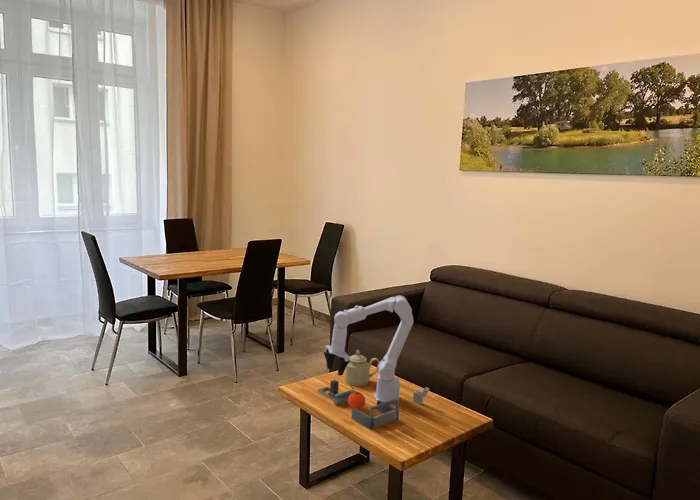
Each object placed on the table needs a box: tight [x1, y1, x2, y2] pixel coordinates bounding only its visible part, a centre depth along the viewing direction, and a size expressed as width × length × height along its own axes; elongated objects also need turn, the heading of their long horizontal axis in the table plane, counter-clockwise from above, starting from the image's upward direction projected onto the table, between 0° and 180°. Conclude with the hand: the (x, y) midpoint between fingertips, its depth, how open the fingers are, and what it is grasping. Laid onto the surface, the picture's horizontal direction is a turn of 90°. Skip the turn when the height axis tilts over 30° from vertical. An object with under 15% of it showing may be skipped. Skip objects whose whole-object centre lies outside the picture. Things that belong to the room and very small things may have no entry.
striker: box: [327, 379, 357, 406], centre depth 226 cm, size 10×10×6 cm
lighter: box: [412, 386, 430, 405], centre depth 226 cm, size 7×2×8 cm, turn 42°
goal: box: [350, 398, 401, 430], centre depth 209 cm, size 11×15×8 cm
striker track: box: [317, 386, 340, 401], centre depth 230 cm, size 13×5×1 cm, turn 40°
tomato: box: [347, 390, 366, 410], centre depth 218 cm, size 8×7×7 cm
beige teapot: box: [344, 349, 380, 387], centre depth 247 cm, size 15×11×15 cm
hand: (334, 371), depth 228 cm, fingers open, 7 cm apart
